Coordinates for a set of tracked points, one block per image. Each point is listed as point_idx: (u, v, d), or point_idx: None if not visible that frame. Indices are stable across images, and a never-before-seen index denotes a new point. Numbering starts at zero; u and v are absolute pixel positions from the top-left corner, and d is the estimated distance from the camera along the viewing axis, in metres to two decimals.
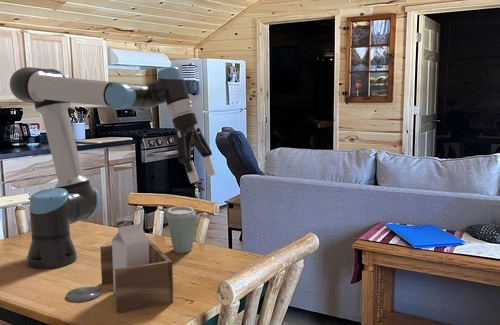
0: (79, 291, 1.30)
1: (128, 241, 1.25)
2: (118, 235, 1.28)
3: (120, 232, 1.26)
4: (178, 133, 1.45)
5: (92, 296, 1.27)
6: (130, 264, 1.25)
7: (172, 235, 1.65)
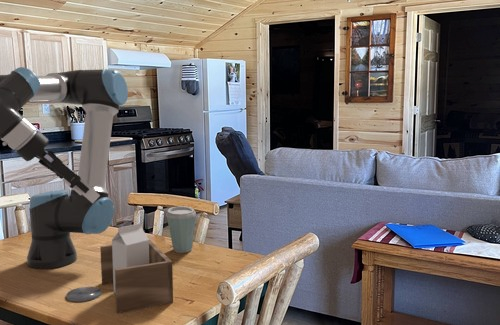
0: (79, 291, 1.30)
1: (128, 241, 1.25)
2: (118, 235, 1.28)
3: (120, 232, 1.26)
4: None
5: (92, 296, 1.27)
6: (130, 264, 1.25)
7: (172, 235, 1.65)
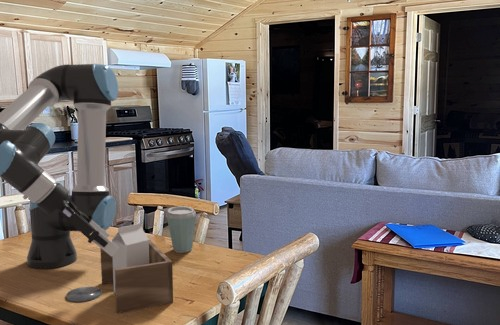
0: (79, 291, 1.30)
1: (128, 241, 1.25)
2: (118, 235, 1.28)
3: (120, 232, 1.26)
4: None
5: (92, 296, 1.27)
6: (130, 264, 1.25)
7: (172, 235, 1.65)
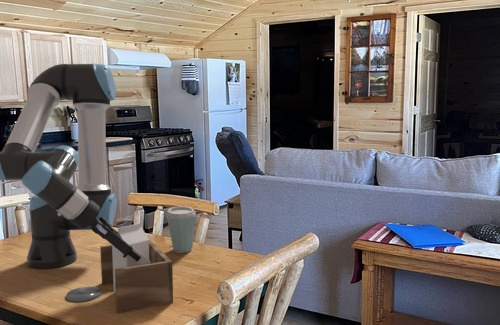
0: (79, 291, 1.30)
1: (128, 241, 1.25)
2: (118, 235, 1.28)
3: (120, 232, 1.26)
4: None
5: (92, 296, 1.27)
6: (130, 264, 1.25)
7: (172, 235, 1.65)
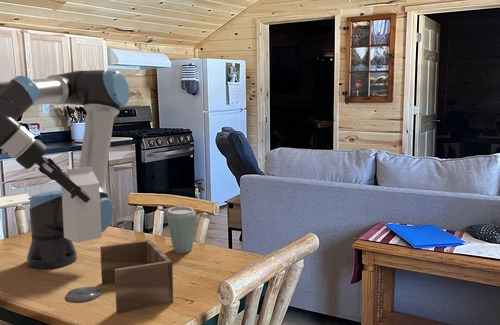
0: (79, 291, 1.30)
1: (77, 182, 1.22)
2: None
3: (69, 174, 1.23)
4: None
5: (92, 296, 1.27)
6: (79, 206, 1.22)
7: (172, 235, 1.65)
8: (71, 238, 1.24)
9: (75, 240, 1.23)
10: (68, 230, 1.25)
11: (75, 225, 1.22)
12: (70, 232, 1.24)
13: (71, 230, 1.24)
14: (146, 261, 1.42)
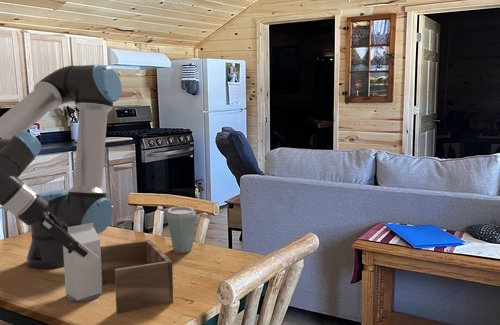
0: None
1: None
2: None
3: (69, 232, 1.24)
4: None
5: (92, 296, 1.27)
6: (79, 264, 1.23)
7: (172, 235, 1.65)
8: (72, 294, 1.26)
9: (75, 297, 1.24)
10: (69, 286, 1.26)
11: (75, 283, 1.23)
12: (71, 288, 1.25)
13: (71, 287, 1.25)
14: (146, 261, 1.42)
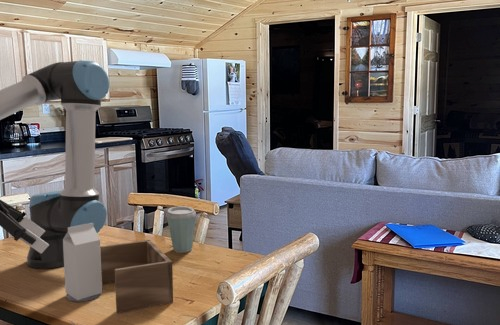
0: None
1: (77, 241, 1.23)
2: (69, 235, 1.26)
3: (70, 232, 1.24)
4: None
5: (92, 296, 1.27)
6: (80, 264, 1.23)
7: (172, 235, 1.65)
8: (72, 294, 1.26)
9: (75, 297, 1.24)
10: (69, 286, 1.26)
11: (75, 283, 1.23)
12: (71, 288, 1.25)
13: (71, 287, 1.25)
14: (146, 261, 1.42)
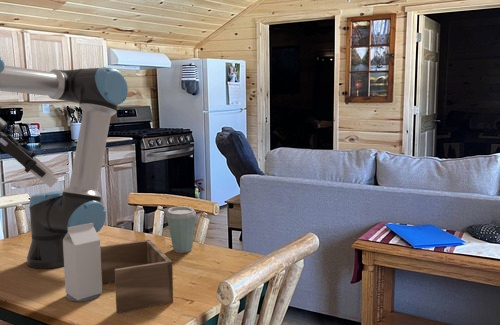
0: None
1: (77, 241, 1.23)
2: (69, 235, 1.26)
3: (70, 232, 1.24)
4: None
5: (92, 296, 1.27)
6: (80, 264, 1.23)
7: (172, 235, 1.65)
8: (72, 294, 1.26)
9: (75, 297, 1.24)
10: (69, 286, 1.26)
11: (75, 283, 1.23)
12: (71, 288, 1.25)
13: (71, 287, 1.25)
14: (146, 261, 1.42)
